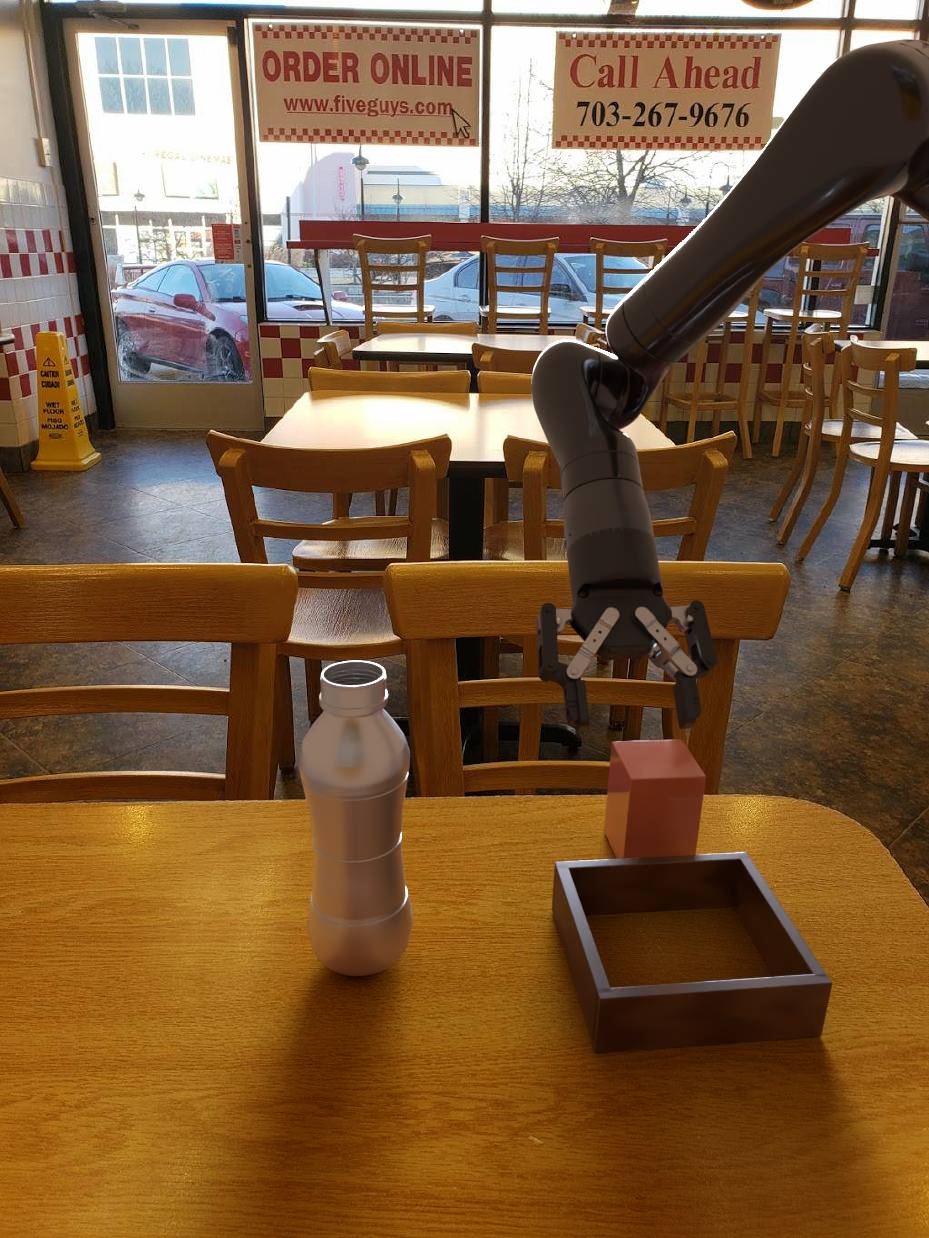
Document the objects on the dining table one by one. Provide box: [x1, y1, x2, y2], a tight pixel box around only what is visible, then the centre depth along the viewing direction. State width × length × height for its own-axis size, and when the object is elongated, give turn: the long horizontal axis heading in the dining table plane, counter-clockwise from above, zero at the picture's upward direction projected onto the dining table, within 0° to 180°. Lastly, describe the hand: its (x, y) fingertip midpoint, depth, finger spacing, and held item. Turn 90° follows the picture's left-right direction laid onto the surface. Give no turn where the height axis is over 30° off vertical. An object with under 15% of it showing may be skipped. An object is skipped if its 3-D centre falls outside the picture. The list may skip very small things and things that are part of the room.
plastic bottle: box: [297, 660, 414, 977], centre depth 57 cm, size 6×7×20 cm
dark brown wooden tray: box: [551, 851, 833, 1054], centre depth 59 cm, size 14×13×4 cm
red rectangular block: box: [603, 739, 707, 859], centre depth 71 cm, size 6×6×8 cm
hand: (636, 727), depth 74 cm, fingers open, 8 cm apart
